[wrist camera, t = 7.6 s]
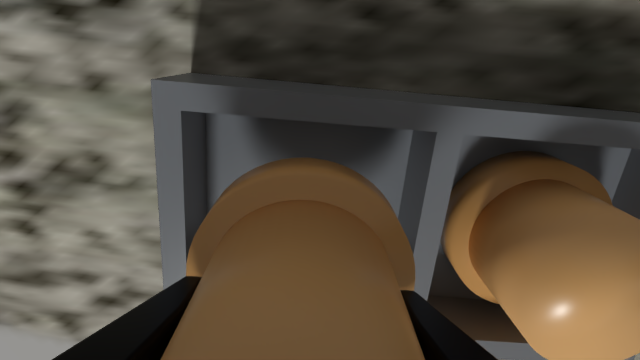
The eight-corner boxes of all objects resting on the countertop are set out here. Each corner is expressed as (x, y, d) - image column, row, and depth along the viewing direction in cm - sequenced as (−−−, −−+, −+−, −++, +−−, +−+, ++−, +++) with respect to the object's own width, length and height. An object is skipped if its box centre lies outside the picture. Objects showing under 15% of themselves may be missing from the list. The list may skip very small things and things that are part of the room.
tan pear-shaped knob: (418, 166, 10) (624, 396, 3) (386, 338, 12) (477, 701, 5) (201, 148, 10) (-44, 357, 3) (204, 326, 12) (58, 692, 5)
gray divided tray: (641, 113, 14) (856, 152, 9) (569, 306, 17) (694, 430, 12) (190, 72, 14) (102, 87, 8) (196, 282, 17) (134, 402, 11)
